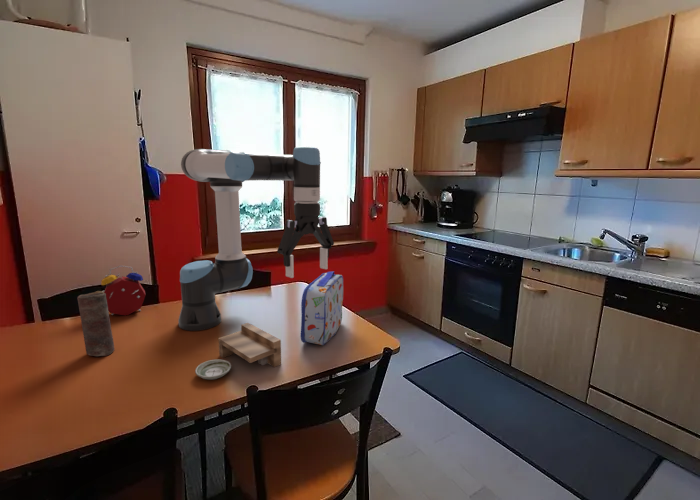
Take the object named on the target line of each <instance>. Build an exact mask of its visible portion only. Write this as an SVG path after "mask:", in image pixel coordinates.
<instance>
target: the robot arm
mask: <svg viewBox="0 0 700 500" xmlns="http://www.w3.org/2000/svg"><path fill="white" fill-rule="evenodd" d="M319 149H320V148H318V147H313V146H296V147H294V149H293V152H292V154H272V153H270V154H269V153H255V152H254V153H253V152H252V153H251V152H244V151H235V150H228V149H226V150H225V149H207V148H206V149H205V148H195V149H191V150H189V151H187V152H186V153H185V154H184V155H183V156H182V158H181V160H180V166H181V170H182V172H183V174H184V175H185V176H186V177H187V178H188V179H191V180H193V181H197V182H203V183H209V186H210V188H211V189H212V190H213V191H214V197H215V198H214V199H215V212H216V225H217V226H216V227H217V243H218V244H217V245H218V254H216V255H215V258H214V260H215V262H214V263H213V261H212V260H207V259H206V260H196V261H193V262H189V263H186V264H185V265H183V266H182V267H181V269H180V270H179V282H180V283H179V284H180V292H181V293H180V294H181V303H182V305H181V309H180V314H179V316H178V319H177V320H178V328H180V329H182V330H184V331H195V332H196V331H203V330H204V331H205V330H208V329H211V328H214V327H217V326H219V324H221V322H222V314H221V312H220V310H219V307H218V305H217V302H216V294H220V293H223V292H228V291H232V290H238V289H241V288H245V287H247V286H248V285H249V284H250V283H251V281H252V279H253V273H254V271H253V270H254V269H253V266H252V263H251V261H250V259H248V258H247V255H246V254H244V253H243V251H242V249H243V248H242V236H241V235H242V233H241V230H242V229H241V217H240V216H241V215H240V213H241V212H240V211H241V210H240V196H239V195H240V193H239V191H241V189H242V188H243V182H247V181H282V182H283V181H293V201H295V202H294V204H293V211H294V212H293V214H294V216H295V220H292V219H291V220H290V219H287V220H286V221H285V228H284V231H283V234H282V237H281V239H280V243H279V245H278V248H277V254H281V255H282V256H283V266H284V267H285V277H287V278H290V279H293V278H294V277H295V275H294V274H295V272H294V269H295V268H294V255H293V252H294V250H295V248H296V247H297V246H298V243H299V241H300V240H301V239H302V237H304V236H305V235H309V234H312V235H313V236H314V238H315V239H316V240H317V241H318V243H319V244H320V245H321V247H319V268H320V269H322V270H328V268H329V267H328V263H329V262H328V259H329V256H330V254H329V253H330V250H329V249H332V247H333V246H334V245H335V242H334V239H333V236H332V234H331V230H330V228H329V226H328V219H327V217H325V216H320V215H321V204H320V203H319V202H320V201H321V163H322V162H321V156H320V155H321V153H320V150H319Z"/></svg>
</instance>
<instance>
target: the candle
mask: <svg viewBox="0 0 700 500" xmlns="http://www.w3.org/2000/svg"><path fill="white" fill-rule="evenodd" d="M77 303H78V304H77V305H78V310H79V316H80V320H81V327H82V334H83V341H84V346H85V353H86V355H88V356H91V357H92V356H94V357H106V356H109V355H111V354H112V353H113V352H114V351H115V343H114V337H113V331H112V325H111V320H110V312H109V311H108V305H107V299H106V294H105V293H104V291H102V290H97V291H94V292H89V293H84V294H80V295H78V296H77Z"/></svg>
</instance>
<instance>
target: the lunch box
mask: <svg viewBox="0 0 700 500" xmlns="http://www.w3.org/2000/svg"><path fill="white" fill-rule="evenodd" d="M343 300H344V276H343V275H342V274H335V271H327V272H322V273H321V274H320V275H319V276H318V277H317V278H315V279H314V280H312V282H310V283H309V284H307V285H306V287H305V288H304V290H303V292H302V296H301V304H300V306H301V307H300V308H301V309H300V311H301V314H300V315H301V317H300V318H301V319H300V320H301V322H300V336H299V337H300V340H301V342H302V343H303V344H304V343H309V344H316V345H320V346H324V345H326V343H328V342H329V340H331V339H332V338H333V336H335V335H336V334H337V331H338V329H339V328H340V327H341V324H342V320H343V302H344V301H343Z"/></svg>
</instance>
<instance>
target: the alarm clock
mask: <svg viewBox="0 0 700 500" xmlns="http://www.w3.org/2000/svg"><path fill="white" fill-rule="evenodd" d="M121 267H123V268H129V269H130V270H131V272H130V273H128V274H126V276H121V273H118V274H116V275H115V274H112V270H115V269H118V268H121ZM143 280H144V278H143V276H142V275H141V274H140V273H138V271H134V269H133V267H132V266H127V265H118V266H116V267H112V268H109V274H105V277H104V278H103V279H101V281H100V285H101V286H105V288H104V291H103V292H104V293H105V294H106V299H107V305H108V312H109V314H110V315H112V316H113V315H121V316H126V315H127V316H129V315H131V314H132V313H134V312H136V311H139V312H142V310H141V309H142V307H143V305H144V304H143V303H144V301H145V298H146V290H145V289H144V287H143V285H141V283H140V282H141V281H143Z"/></svg>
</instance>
